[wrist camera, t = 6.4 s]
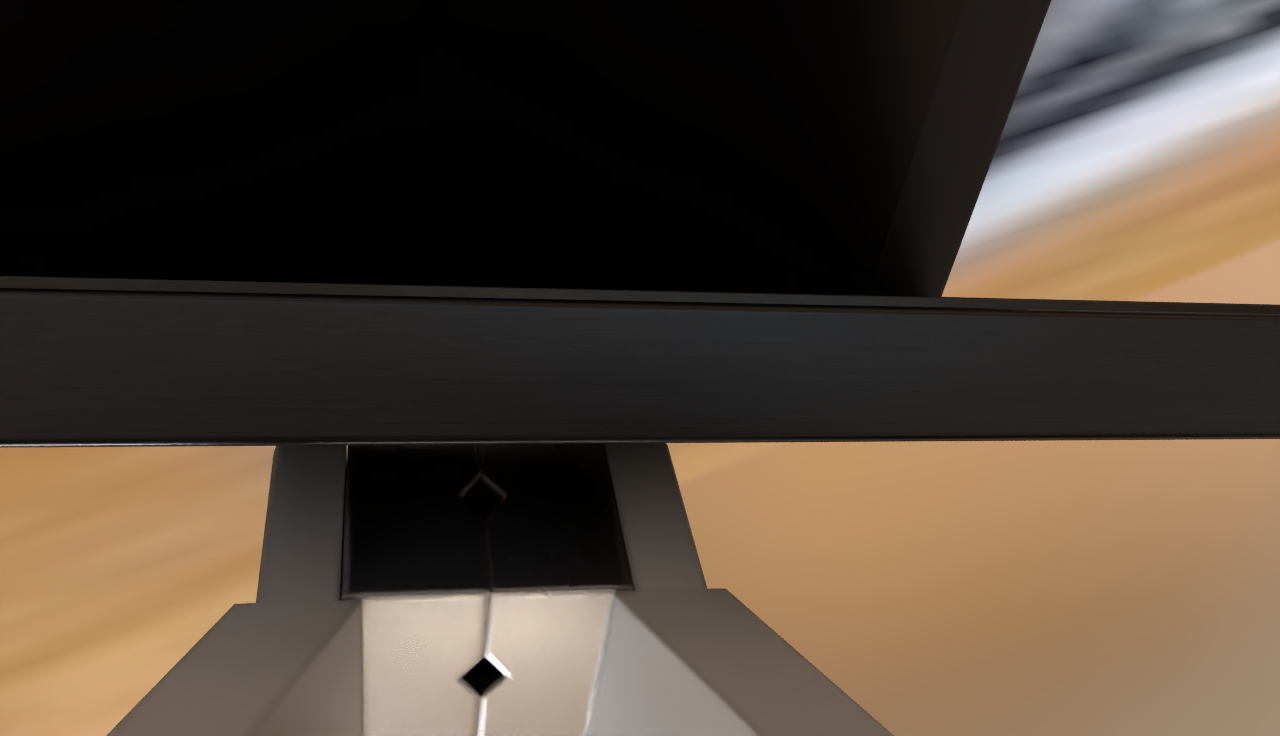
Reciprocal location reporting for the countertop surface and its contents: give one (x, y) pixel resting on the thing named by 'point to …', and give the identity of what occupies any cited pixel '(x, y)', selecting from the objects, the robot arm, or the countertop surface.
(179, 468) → the countertop surface
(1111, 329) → the laptop screen
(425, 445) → the robot arm
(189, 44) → the laptop
